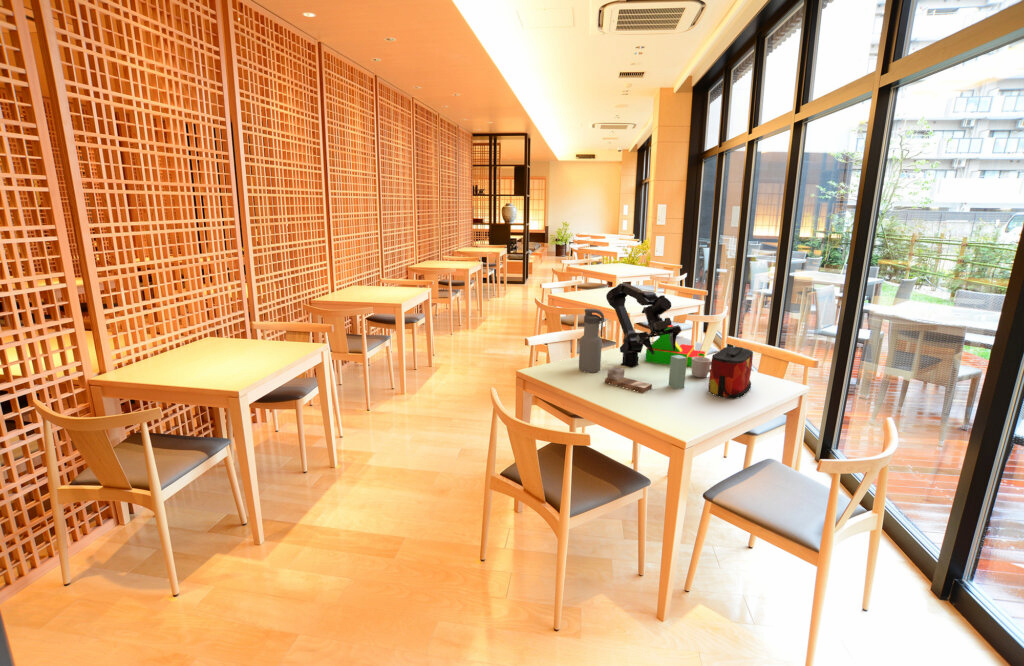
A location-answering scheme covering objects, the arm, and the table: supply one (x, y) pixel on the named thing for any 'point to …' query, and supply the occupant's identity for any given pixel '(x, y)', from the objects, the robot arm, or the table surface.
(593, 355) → the water bottle
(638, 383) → the brown long stepped block
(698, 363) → the cup
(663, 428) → the table surface
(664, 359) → the building blocks toy
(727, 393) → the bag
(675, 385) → the pillar
